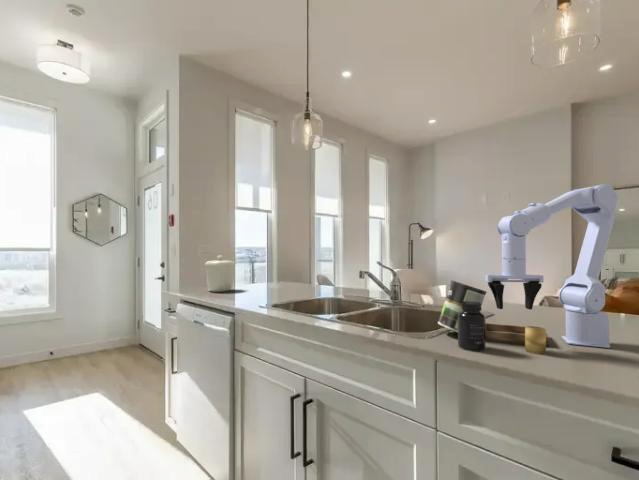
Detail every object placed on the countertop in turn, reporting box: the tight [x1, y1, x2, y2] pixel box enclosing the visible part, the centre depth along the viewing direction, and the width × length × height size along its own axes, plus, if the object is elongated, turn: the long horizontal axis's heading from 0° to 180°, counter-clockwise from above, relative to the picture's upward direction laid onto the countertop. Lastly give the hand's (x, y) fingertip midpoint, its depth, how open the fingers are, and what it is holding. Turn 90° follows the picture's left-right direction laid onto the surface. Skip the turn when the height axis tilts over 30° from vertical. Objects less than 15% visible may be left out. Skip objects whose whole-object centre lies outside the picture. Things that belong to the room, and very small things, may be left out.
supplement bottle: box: [457, 301, 487, 352], centre depth 93 cm, size 7×7×12 cm
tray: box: [485, 322, 551, 348], centre depth 102 cm, size 16×12×3 cm
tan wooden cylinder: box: [524, 325, 547, 355], centre depth 90 cm, size 4×4×6 cm
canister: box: [203, 254, 236, 293], centre depth 208 cm, size 18×18×21 cm
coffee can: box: [437, 280, 487, 334], centre depth 106 cm, size 10×10×14 cm
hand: (514, 308), depth 96 cm, fingers open, 7 cm apart
